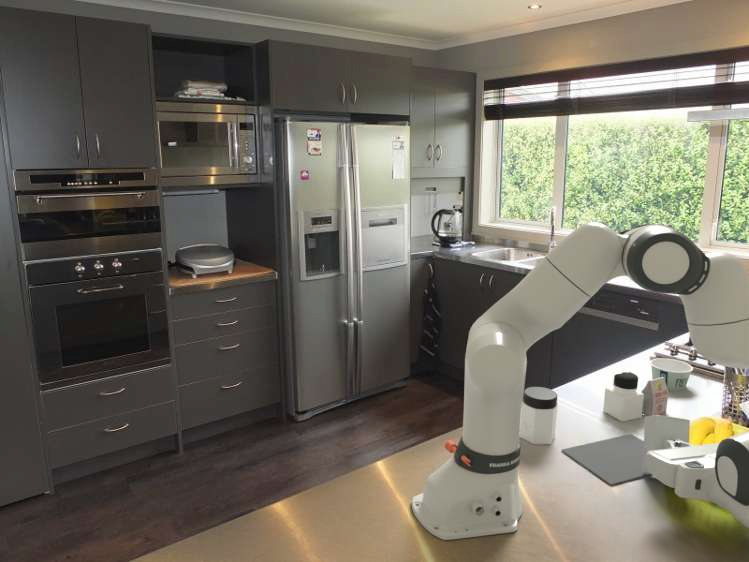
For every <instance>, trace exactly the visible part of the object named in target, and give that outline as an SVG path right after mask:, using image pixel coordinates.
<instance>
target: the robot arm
mask: <svg viewBox="0 0 749 562" xmlns="http://www.w3.org/2000/svg"><path fill="white" fill-rule="evenodd" d="M618 277H628V278H629V279H630V280H631V281H632V282H634V283H635V284H636V285H637V286H639V287H640V288H641V289H644V290H646V291H648V292H652V293H657V294H667V295H668V294H670V295H678V296H679V298H680V300H681V303H682V304H683V308H684V314H685V320H686V323H687V327H688V332H689V338H690V340H691V342H692V345H693V347H694V348H695V350H696V352H697V353H698V354H699V355H700V356H701V357H703V358H704V359H705V360H707V361H709V362H711V363H713V364H715V365H718V366H721V367H726V368H732V369H740V370H741V369H742V370H749V272H748V270H747V268H746V266H745V264H744V263H743V260H741V258H740V257H738V256H736V255H735V254H732V253H728V252H722V251H721V252H719V251H714V252H707V253H705V252H703V251H702V250H701V249H700V247H699V246H698V245H696V243H695V242H694V241H693V240H691V238H689V237H688V236H687V235H686V234H684V233H682V232H681V231H679V230H678V229H676V228H674V227H672V226H669V225H665V224H658V223H657V224H656V223H654V224H653V223H651V224H650V223H649V224H642V225H638V226H635V227H633V228H632V227H631V228H630V229H627V230H622V231H620V232H617V231H615V230H614V229H613V228H612V227H610V226H608V225H606V224H603V223H601V222H596V221H589V222H585V223H584V224H581V225H580V226H578V227H577V228H576V229H574V230H573V231H571V232H570V233H569V234H568V235H566V236H565V237H564V238H563V239H561V241H559V242H558V243H557V244H555V246H554V247H552V249H551V250H549V252H547V254H546V255H545V256H543V258H541V260H540V261H539V262H538V263H537V264H536V265H535V266H534V267H533V268H532V269H531V270H530V271H529V272H528V274H526V276H525V277H524V278H522V279H521V281H520V282H519V283H518V284H517V285H516V286H514V288H512V289H511V290H510V291H509V292H508V293H506V294H505V295H504V296H503V297H501V298H500V299H499V300H497V301H496V302H495V303H494V304H493V305H492V306H491V307H489V308H488V309H487V310H486V311H485V312H484V313H483V314H482V315H481V316H479V317H478V318H477V319H476V320H475V322H473V323H472V326H471V327H470V330H469V331H468V338H467V344H466V349H465V350H466V351H465V354H464V355H465V357H464V383H463V384H464V385H463V386H464V387H463V389H464V391H463V393H464V395H463V416H462V417H463V420H462V421H463V422H462V435H461V437H460V439H459V441H458V443H457V444H456V443H454V441H453V440H451V439H448V440H446V441H445V442H444V445H443V447H444V448H445V450H446V451H448V452H449V453H451V454H453V456H452V457H450V458H449V459H448V460H447V461H446V462H445V463H443V464H442V465H440V467H439V468H437V469H436V470H435V471H434V472H433V473H431V474H430V475H429V476H428V477H427V479H426V480H425V484H424V489H423V492H421V493H419V494H417V495H414V496H413V497H412V499H411V500H412V501H411V509H412V512H413V514H414V516H415V518H416V519H417V520H418V522H419V523H420V524H421V526H422V527H423V528H424V529H426V530H427V531H428V532H429V533H430V534H431V535H433V536H435V537H436V538H438V539H441V540H443V541H446V540H447V541H452V540H459V539H467V538H475V537H483V536H491V535H498V534H507V533H514V532H516V531H518V521H519V519H520V517H521V516H522V515H523V509H524V508H523V503H522V499H521V495H520V488H519V487H520V486H519V475H518V474H519V471H518V470H519V469H518V468H519V465H520V463H521V442H520V423H521V409H522V402H523V394H524V390H525V386H526V385H525V384H526V383H525V382H526V377H527V376H526V374H527V366H528V365H527V364H528V359H527V358H528V357H527V351H528V350H529V349H530V348H531V346H533V345H534V344H535V343H536V342H537V341H539V340H541V339H542V338H544V337H545V336H547V335H548V334H550V333H551V332H554V331H555V330H558V329H560V328H562V327H563V325H565V324H567V322H568V321H569V320H570V319H571V318H573V316H574V315H575V314H577V312H578V311H580V309H581V308H582V307H583V306H585V305H586V303H588V301H589V300H591V299H592V297H594V295H595V294H596V293H597V292H599V290H601V288H602V287H603V286H604V285H606V284H607V283H608V282H610V281H611V280H613V279H616V278H618ZM664 447H665V448H666V449H661V450H652V451H648V452H647V454H646V459H645V467H646V469H647V470H648V471H649V472H650V473H651V474H652V475H651V476H653V477H655V478H656V480H658V481H660V482H661V483H662V484H663V485H665V486H667V487H669V488H673V489H674V493H675V495H677V496H678V497H679V498H682V499H692V500H700V501H705V502H707V503H715V504H716V505H717V506H719V507H720V508H722V509H724V510H727V511H728V512H730V514H731V516H732V517H733V518H734V519H735V520H737V521H738V522H739V523H740V524H742V525H743V526H744V527H746V528H747V530H748V529H749V430H747V431H743V432H740V433H738V434H737V433H736V434H734V435H732V436H729V437H727V438H724V439H722V440H721V441H720V442H717V443H707V444H698V445H695V444H692V443H690V442H689V443H686V442H683V441H681V440H680V439H673V440H665V442H664Z"/></svg>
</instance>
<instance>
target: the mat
mask: <svg viewBox="0 0 749 562" xmlns="http://www.w3.org/2000/svg"><path fill="white" fill-rule="evenodd" d="M561 452H562V453H563V452H564V453H563V454H565V455H567V456H568V457H569V458H571V459H572V460H573V461H575V462H576V463H577V464H579V465H580V466H581V467H583V468H584V469H586V470H588V471H589V472H590V473H591V474H593V475H594V476H596V477H598V478H599V479H600V480H601V481H603V482H605V484H607V485H608V486H610V487H612V486H615V485H618V484H623V483H627V482H631V481H634V480H637V479H642V478H646V477H650V476H653V475H652V474H648V473H643V452H644V439H640V438H639V437H637V436H635V435H633V434H632V433H629V434H625V435H620V436H615V437H611V438H607V439H603V440H598V441H593V442H589V443H585V444H581V445H577V446H572V447H568V448H563V449H561Z"/></svg>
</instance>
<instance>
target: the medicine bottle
mask: <svg viewBox="0 0 749 562" xmlns="http://www.w3.org/2000/svg"><path fill="white" fill-rule="evenodd" d="M638 385H639V377H638V375H637V374H635V373H633V372H631V371H624V370H623V371H617V372H615V373H614V374H613V384H612V386H608V387H605V389H604V398H603V409H602V412H604V413H605V412H606V413H605V414H607V413H608V414H607V415H609V414H610V415H609V416H611V417H612V416H613V417H612V418H614V419H616V420H617V421H619V420H620V422H621V421H622V422H628V421H633V420H638V419H641V418H642V415H643V414H642V408H643V400H644V394H643V393H641V392H642V391H639V390H638ZM637 418H638V419H637ZM632 419H633V420H632ZM627 420H628V421H627ZM622 422H621V423H622Z"/></svg>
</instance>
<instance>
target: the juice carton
mask: <svg viewBox="0 0 749 562" xmlns="http://www.w3.org/2000/svg"><path fill="white" fill-rule="evenodd" d="M640 392H641V393H643V394H644V400H643V408H642V415H643V414H644V415H643V416H645V415H646V416H645V417H647V416H653V415H663V414H666V413H667V407H668V401H669V400H668V399H669V390H668V389H667V386H666V381H665V377H661V378H657V379H653V380H652V379H651V380H648V381H647V383H646V385H645V386H644V388H643V389H642V390H641V391H640Z"/></svg>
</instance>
